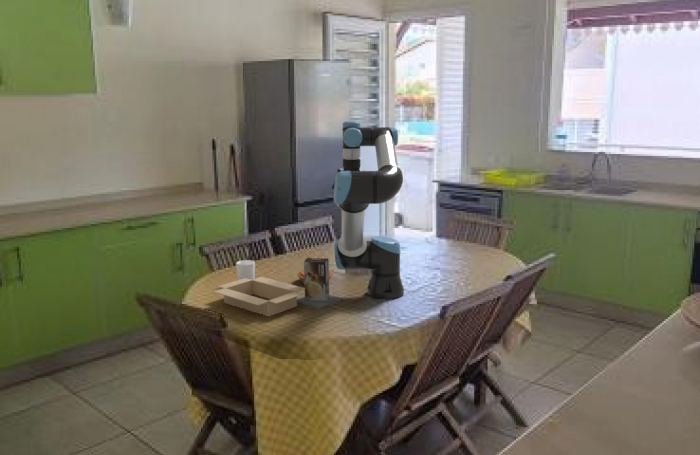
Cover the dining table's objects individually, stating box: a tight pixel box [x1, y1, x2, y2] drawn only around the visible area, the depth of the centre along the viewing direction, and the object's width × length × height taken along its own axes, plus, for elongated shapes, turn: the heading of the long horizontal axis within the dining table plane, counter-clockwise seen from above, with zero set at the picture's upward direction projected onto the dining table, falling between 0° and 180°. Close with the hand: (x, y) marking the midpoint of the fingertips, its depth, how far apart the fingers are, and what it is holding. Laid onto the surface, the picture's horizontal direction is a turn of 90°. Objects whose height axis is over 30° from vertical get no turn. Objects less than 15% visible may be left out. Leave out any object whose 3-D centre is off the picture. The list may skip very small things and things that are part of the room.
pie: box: [296, 269, 333, 285], centre depth 277 cm, size 15×16×5 cm
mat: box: [297, 294, 343, 309], centre depth 253 cm, size 14×14×1 cm
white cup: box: [236, 259, 256, 280], centre depth 273 cm, size 8×8×10 cm
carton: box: [213, 276, 305, 317], centre depth 247 cm, size 33×25×6 cm
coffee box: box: [303, 257, 330, 301], centre depth 251 cm, size 9×6×16 cm
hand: (351, 207), depth 272 cm, fingers open, 13 cm apart
